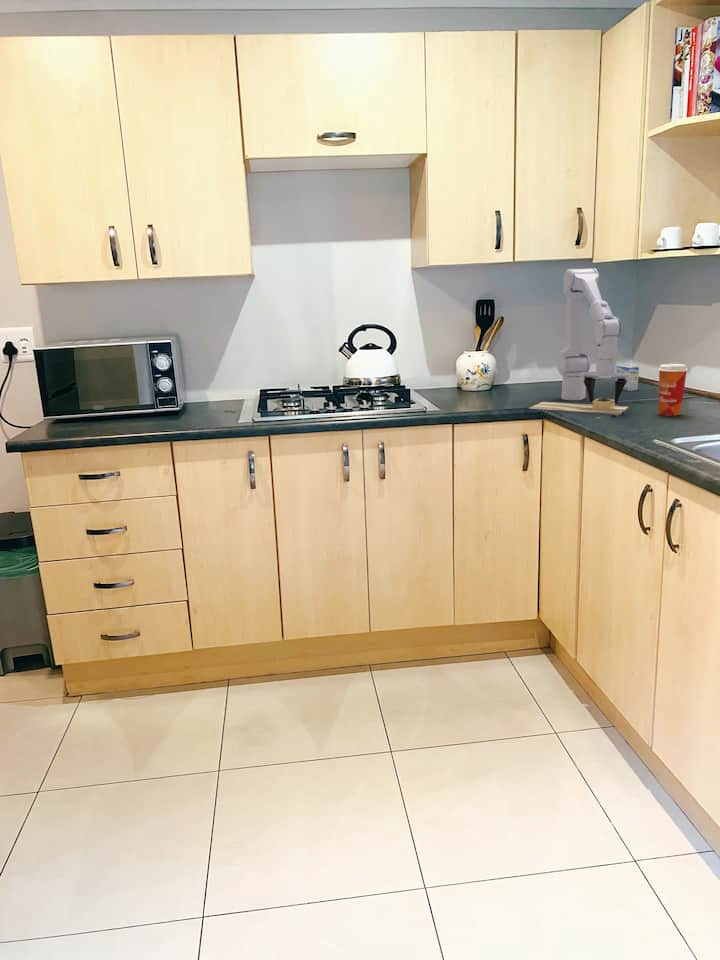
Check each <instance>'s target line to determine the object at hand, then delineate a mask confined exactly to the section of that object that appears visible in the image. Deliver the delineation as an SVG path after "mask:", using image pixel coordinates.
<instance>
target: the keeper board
mask: <svg viewBox="0 0 720 960" xmlns="http://www.w3.org/2000/svg"><path fill="white" fill-rule="evenodd" d="M600 399H601V401H607V399H608V398H606V397H602V398H600ZM592 405H593V403H592V404H589V403H588V404H587V403H574V402H573V403H571V402H570V403H569V402H556V401H552V402H551V401H541V402H539V403H537V404H534V405H532V406H529V409H533V410H534V409H535V410H546V411H547V410H550V411H565V412H578V413H579V412H580V413H595V414H597V413H598V414H611V415H617V416H618V415H619V414H621V413H622V412H624V411H626V410H627V409H628V410H629V406H623V405H621V406H620V405H615V408H614V409H613V410H611V411H602V410H592ZM628 410H627V411H628ZM627 411H626V412H627ZM624 413H625V412H624ZM621 415H622V414H621ZM618 417H619V416H618Z"/></svg>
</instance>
